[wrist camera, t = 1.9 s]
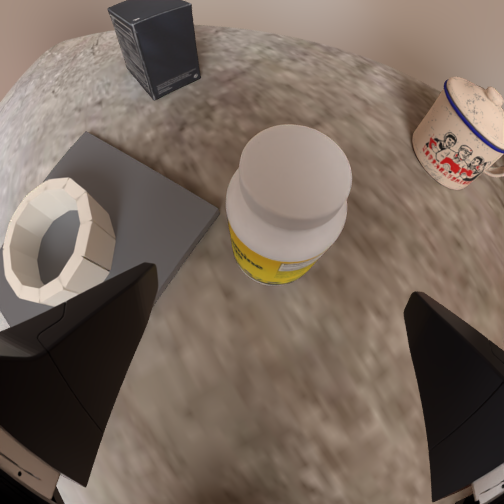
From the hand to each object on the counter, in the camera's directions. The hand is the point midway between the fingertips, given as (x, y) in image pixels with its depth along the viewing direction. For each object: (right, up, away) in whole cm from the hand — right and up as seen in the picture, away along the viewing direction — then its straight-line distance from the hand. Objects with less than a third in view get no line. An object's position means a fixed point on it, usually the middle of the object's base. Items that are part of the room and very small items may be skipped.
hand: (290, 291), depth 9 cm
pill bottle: (0, +2, +12) cm, 13 cm away
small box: (-12, +23, +19) cm, 32 cm away
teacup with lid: (+21, +11, +16) cm, 29 cm away
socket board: (-17, +1, +12) cm, 21 cm away
